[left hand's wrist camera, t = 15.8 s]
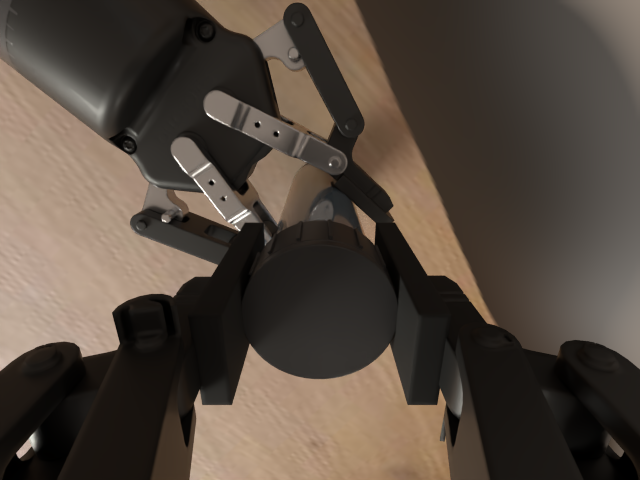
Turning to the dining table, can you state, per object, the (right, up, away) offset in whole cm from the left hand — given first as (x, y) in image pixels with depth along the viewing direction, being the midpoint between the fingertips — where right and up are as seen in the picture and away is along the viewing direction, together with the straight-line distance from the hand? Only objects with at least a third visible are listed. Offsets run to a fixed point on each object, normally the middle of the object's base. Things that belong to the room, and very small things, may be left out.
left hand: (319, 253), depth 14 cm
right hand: (+2, 0, +5) cm, 5 cm away
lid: (0, -2, -4) cm, 4 cm away
